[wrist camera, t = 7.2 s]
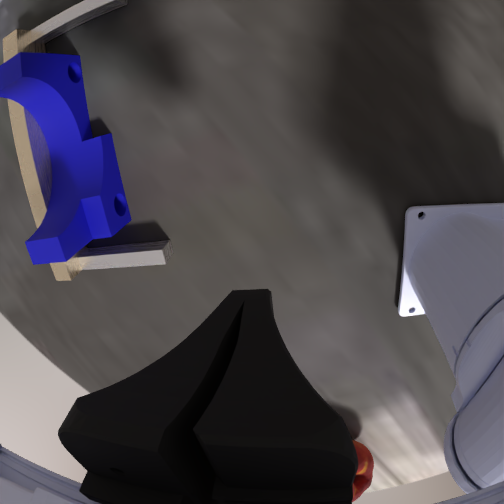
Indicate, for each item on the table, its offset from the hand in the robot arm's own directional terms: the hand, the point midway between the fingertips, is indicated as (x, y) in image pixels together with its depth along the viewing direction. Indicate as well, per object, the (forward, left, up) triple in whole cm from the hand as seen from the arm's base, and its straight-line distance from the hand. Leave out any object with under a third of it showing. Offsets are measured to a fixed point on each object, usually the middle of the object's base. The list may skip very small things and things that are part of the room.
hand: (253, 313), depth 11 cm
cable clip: (+11, -7, -10) cm, 17 cm away
